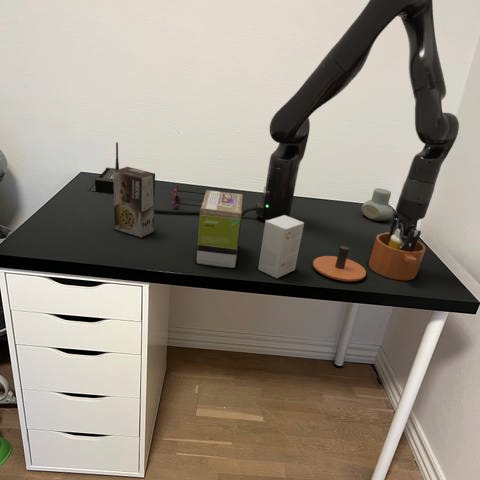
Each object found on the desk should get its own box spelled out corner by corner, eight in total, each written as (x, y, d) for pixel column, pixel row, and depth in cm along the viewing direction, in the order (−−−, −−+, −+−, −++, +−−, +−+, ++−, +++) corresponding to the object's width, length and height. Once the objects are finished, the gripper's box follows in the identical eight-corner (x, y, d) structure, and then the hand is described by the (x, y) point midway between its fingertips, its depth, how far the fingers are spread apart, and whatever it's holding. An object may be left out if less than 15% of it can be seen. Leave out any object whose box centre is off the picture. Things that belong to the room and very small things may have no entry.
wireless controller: (101, 177, 168) (100, 126, 159) (141, 182, 169) (142, 132, 160) (86, 194, 151) (84, 138, 142) (130, 199, 152) (131, 144, 143)
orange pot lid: (317, 280, 118) (323, 256, 115) (308, 257, 130) (313, 234, 127) (371, 285, 120) (379, 261, 116) (356, 262, 132) (363, 239, 128)
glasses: (173, 197, 159) (174, 182, 157) (222, 202, 161) (223, 188, 159) (171, 211, 148) (171, 195, 145) (223, 216, 150) (225, 201, 147)
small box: (275, 261, 125) (284, 214, 118) (295, 270, 122) (305, 222, 115) (256, 269, 119) (264, 220, 112) (276, 279, 116) (286, 228, 109)
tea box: (201, 241, 130) (206, 188, 122) (237, 246, 130) (244, 193, 123) (195, 264, 117) (200, 206, 109) (235, 269, 118) (243, 212, 110)
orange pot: (379, 282, 122) (388, 254, 118) (360, 253, 138) (367, 227, 133) (427, 287, 123) (437, 259, 119) (402, 257, 139) (411, 232, 135)
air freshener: (355, 214, 169) (363, 187, 164) (369, 211, 174) (376, 185, 169) (381, 225, 163) (389, 196, 157) (394, 222, 168) (402, 194, 162)
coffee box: (154, 231, 132) (156, 173, 123) (141, 238, 127) (142, 178, 118) (127, 223, 134) (127, 165, 126) (113, 229, 129) (112, 169, 121)
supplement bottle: (393, 271, 127) (405, 235, 121) (378, 262, 130) (389, 227, 125) (407, 268, 130) (419, 233, 124) (391, 260, 133) (402, 225, 128)
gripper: (392, 187, 126) (374, 245, 134) (411, 204, 113) (390, 267, 122) (418, 190, 126) (399, 248, 135) (441, 207, 114) (418, 270, 123)
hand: (395, 257), depth 129 cm, fingers closed on supplement bottle, 5 cm apart
